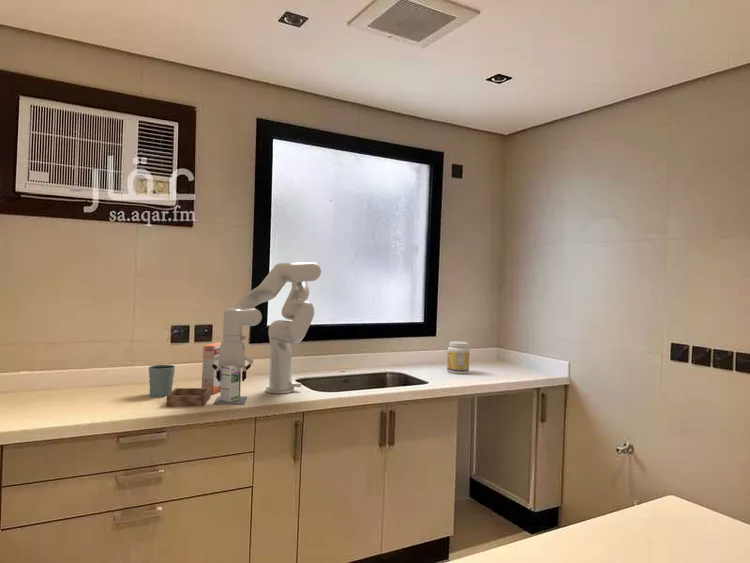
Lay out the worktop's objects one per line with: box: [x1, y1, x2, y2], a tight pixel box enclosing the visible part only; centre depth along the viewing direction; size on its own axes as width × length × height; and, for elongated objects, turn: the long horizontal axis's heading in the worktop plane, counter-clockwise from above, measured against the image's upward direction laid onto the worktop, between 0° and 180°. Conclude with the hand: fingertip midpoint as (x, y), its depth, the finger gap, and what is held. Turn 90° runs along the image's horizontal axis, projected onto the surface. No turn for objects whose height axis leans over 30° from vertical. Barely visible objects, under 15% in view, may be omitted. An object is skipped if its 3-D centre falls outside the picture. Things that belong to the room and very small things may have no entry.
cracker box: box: [201, 341, 222, 395], centre depth 228 cm, size 14×6×21 cm, turn 168°
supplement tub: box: [446, 340, 471, 375], centre depth 290 cm, size 12×12×17 cm
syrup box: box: [219, 365, 242, 402], centre depth 212 cm, size 6×6×14 cm
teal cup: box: [148, 364, 176, 398], centre depth 219 cm, size 10×10×12 cm
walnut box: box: [166, 387, 212, 407], centre depth 208 cm, size 14×14×4 cm
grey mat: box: [212, 395, 248, 406], centre depth 212 cm, size 12×12×1 cm
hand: (231, 380), depth 212 cm, fingers open, 9 cm apart
